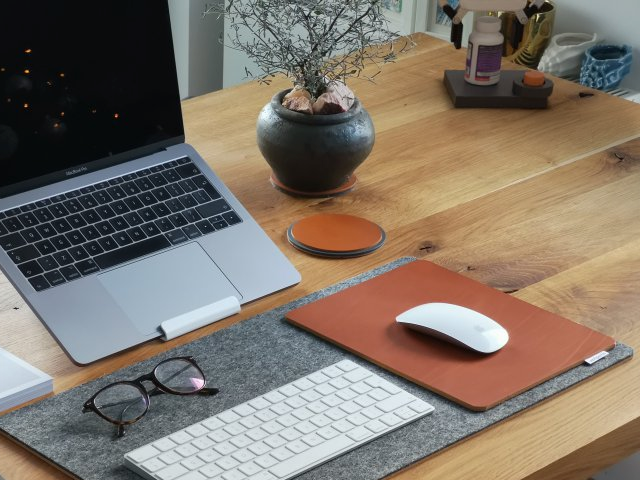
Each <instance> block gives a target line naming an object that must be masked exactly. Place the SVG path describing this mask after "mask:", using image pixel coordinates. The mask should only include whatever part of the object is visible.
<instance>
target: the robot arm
mask: <svg viewBox="0 0 640 480" xmlns="http://www.w3.org/2000/svg"><path fill="white" fill-rule="evenodd" d="M436 1H437V3H438V5H439V6H440V8H441V9H442V11H443V13H444V14H445V15H446V16H447V17H448V18H449V19H450V21H451V26H450V43H453V46H454V48H455V50H456V51H457V50H458V51H459V50H461V49H462V43H463V34H464V33H463V32H464V24H463V19H464V18H465V16H466V15H467V14H468V12H472V13H473V12H475V13H476V12H477V13H479V12H480V13H482V12H483V13H484V12H485V13H489V12H491V13H496V12H497V13H499V12H500V13H501V12H502V13H503V12H505V13H507V12H513V14H514V15H515V16H514V18H513V19H512V20H511V26H510V27H511V28H510V33H509V34H510V36H509V45H510V47H511V48H512V50H516V51H517V50H519V43H521V44H522V43H523V38H524V30H525V25H526V24H527V23H528V22H529V21H528V20H530V19H531V18H533V16H535V14H537V12H538V11H539V9H540V8H541V7H542V6H543V4H544V3H545V2H546V1H547V0H532V1H531V3H528V0H457V2H458V3H457V5H455V7H454V8H453V7H452V6H451V4H449V2H448V0H436ZM527 3H528V4H527Z"/></svg>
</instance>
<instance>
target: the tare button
mask: <svg viewBox="0 0 640 480" xmlns="http://www.w3.org/2000/svg"><path fill="white" fill-rule="evenodd" d="M544 77H545V73H544V72H541V71H537V70H531V71H528V72H525V74H524V81H523V83H524V84H526V85H531V86H540V85H543V83H544Z"/></svg>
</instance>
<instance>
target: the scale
mask: <svg viewBox="0 0 640 480" xmlns="http://www.w3.org/2000/svg"><path fill="white" fill-rule="evenodd" d="M443 70H444V71H443V83H444V86H445V88H446V90H447V93H448V95H449V97H450V100H451V102H452V104H453V106H454V108H457V109H458V108H462V109H463V108H465V109H467V108H469V109H470V108H471V109H472V108H473V109H477V108H478V109H489V108H490V109H499V108H500V109H502V108H503V109H509V108H510V109H546V108H547V105H548V99H549V97H551V96H552V94H553V92H554V87H555V86H554V85H555V83H554V82H553V80H552V79H550V78H548V77H545V76H544V83H543V85H540V86H531V85H526V84H524V83H523V81H524V74H525V72H528V71H532V69H500V77H499V81H498V82H497V83H495V84H493V85H475V84H471V83H469V82H467V81H466V80H465V69H443Z"/></svg>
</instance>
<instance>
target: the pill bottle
mask: <svg viewBox="0 0 640 480" xmlns="http://www.w3.org/2000/svg"><path fill="white" fill-rule="evenodd" d="M473 28H474V30H473V31H471V32H470V33H469V35H468V39H467V48H466V59H465V66H464V67H465V68H464V70H465V80H466V81H467V82H469V83H471V84H475V85H493V84H495V83H497V82H498V81H499V77H500V70H501V68H502V60H503V59H502V58H503V51H504V44H505V43H504V42H505V41H504V40H505V38H504V37H505V36H504V35H503V34H502V33H501V32H500V31H501V29H502V19H501V18H500V17H496V16H491V15H482V16H477V17H476V18H475V20H474V27H473Z"/></svg>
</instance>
